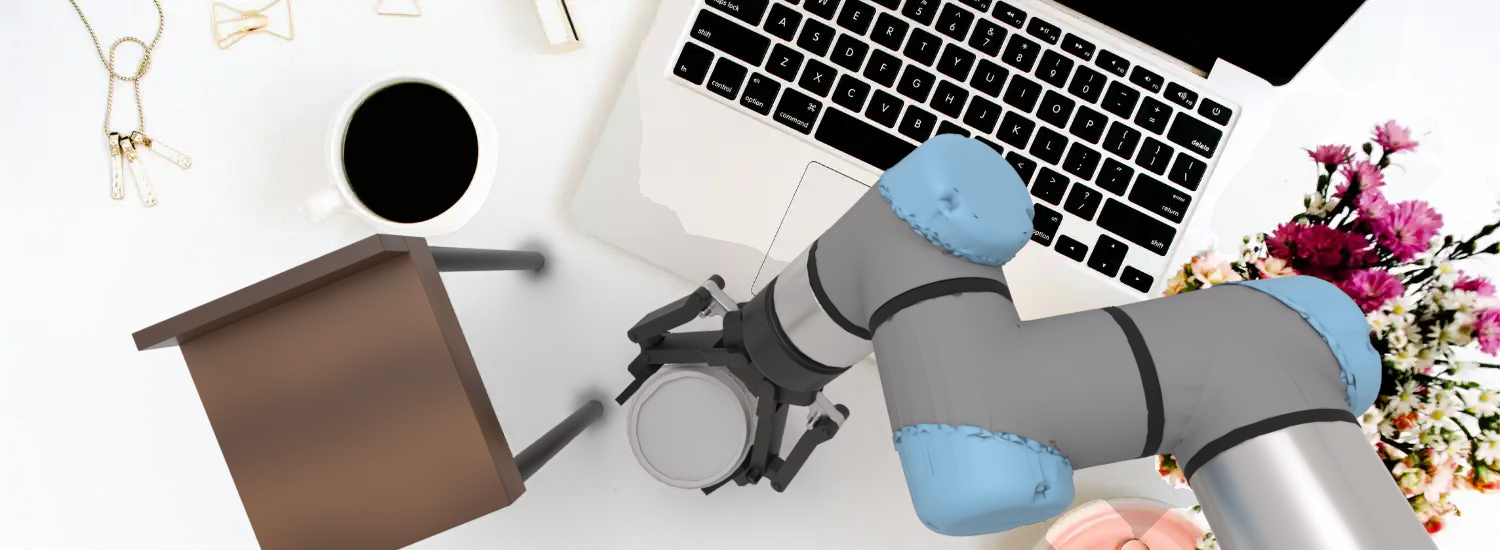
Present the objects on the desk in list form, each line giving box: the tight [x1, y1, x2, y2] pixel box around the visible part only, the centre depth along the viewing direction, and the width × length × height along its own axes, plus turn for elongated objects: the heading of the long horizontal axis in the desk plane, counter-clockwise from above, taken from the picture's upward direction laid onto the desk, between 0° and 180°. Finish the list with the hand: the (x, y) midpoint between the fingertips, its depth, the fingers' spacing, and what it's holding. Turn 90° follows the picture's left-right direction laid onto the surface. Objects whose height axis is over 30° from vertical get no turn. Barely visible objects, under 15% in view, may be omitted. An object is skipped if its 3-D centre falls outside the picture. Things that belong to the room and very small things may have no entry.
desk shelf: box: [131, 232, 527, 550], centre depth 47 cm, size 16×14×6 cm
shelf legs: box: [428, 245, 604, 484], centre depth 62 cm, size 16×14×25 cm
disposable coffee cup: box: [626, 363, 755, 490], centre depth 69 cm, size 10×10×12 cm
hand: (670, 437), depth 70 cm, fingers closed on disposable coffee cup, 9 cm apart
